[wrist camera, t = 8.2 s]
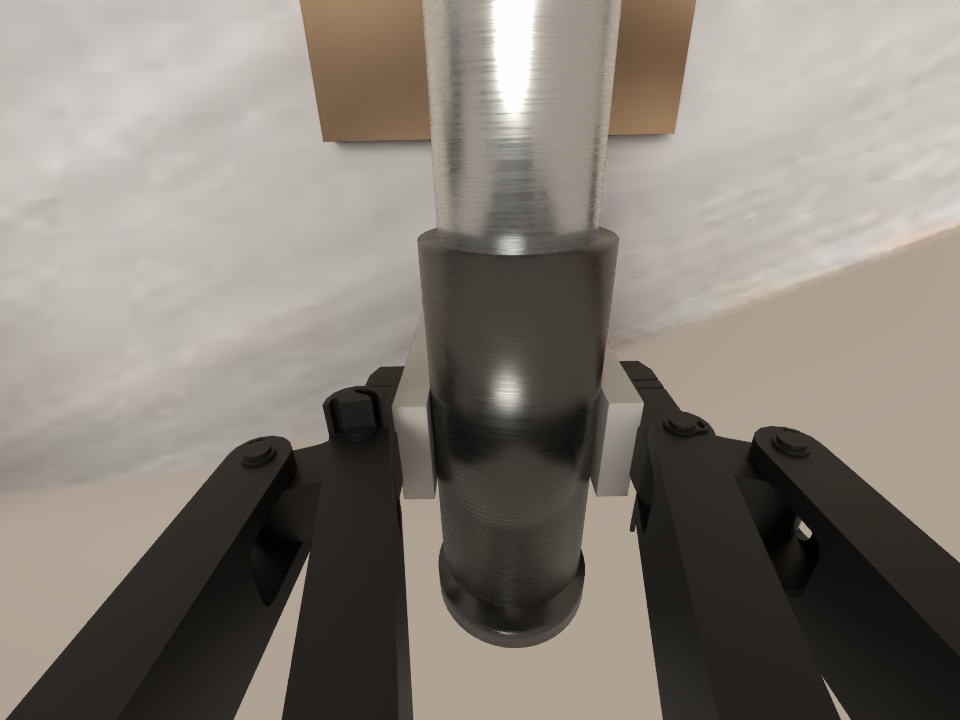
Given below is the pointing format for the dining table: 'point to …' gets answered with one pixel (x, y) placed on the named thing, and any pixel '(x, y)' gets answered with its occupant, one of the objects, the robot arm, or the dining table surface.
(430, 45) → the shaft
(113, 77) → the dining table surface
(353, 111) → the bearing block stand
